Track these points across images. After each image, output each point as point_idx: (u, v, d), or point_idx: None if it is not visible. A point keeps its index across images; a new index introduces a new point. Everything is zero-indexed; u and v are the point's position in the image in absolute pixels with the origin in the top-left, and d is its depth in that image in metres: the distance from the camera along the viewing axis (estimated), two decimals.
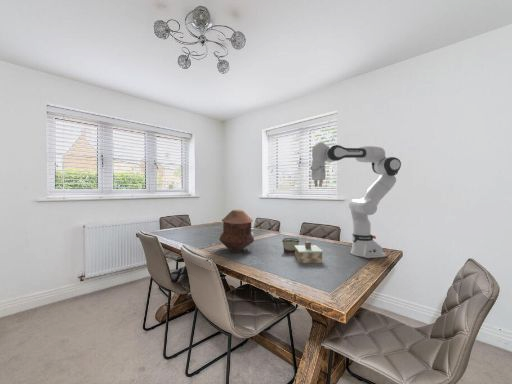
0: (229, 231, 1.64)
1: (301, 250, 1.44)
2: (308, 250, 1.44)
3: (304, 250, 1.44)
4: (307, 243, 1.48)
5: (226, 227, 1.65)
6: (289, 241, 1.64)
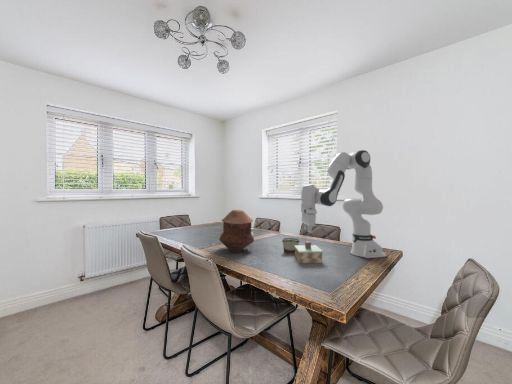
0: (229, 231, 1.64)
1: (301, 250, 1.44)
2: (308, 250, 1.44)
3: (304, 250, 1.44)
4: (307, 243, 1.48)
5: (226, 227, 1.65)
6: (289, 241, 1.64)
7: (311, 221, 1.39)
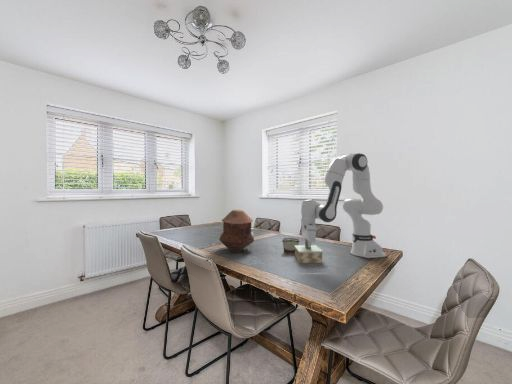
0: (229, 231, 1.64)
1: (301, 250, 1.44)
2: (308, 250, 1.44)
3: (304, 250, 1.44)
4: (307, 243, 1.48)
5: (226, 227, 1.65)
6: (289, 241, 1.64)
7: (311, 237, 1.39)
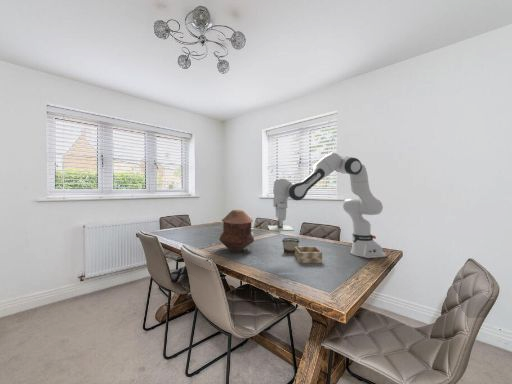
0: (229, 231, 1.64)
1: (272, 229, 1.43)
2: (279, 229, 1.43)
3: (275, 229, 1.43)
4: None
5: (226, 227, 1.65)
6: (289, 241, 1.64)
7: (281, 215, 1.38)
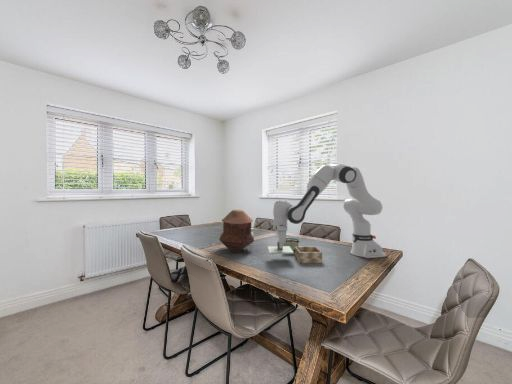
0: (229, 231, 1.64)
1: (272, 251, 1.43)
2: (279, 251, 1.43)
3: (275, 251, 1.43)
4: None
5: (226, 227, 1.65)
6: (289, 241, 1.64)
7: (281, 238, 1.39)
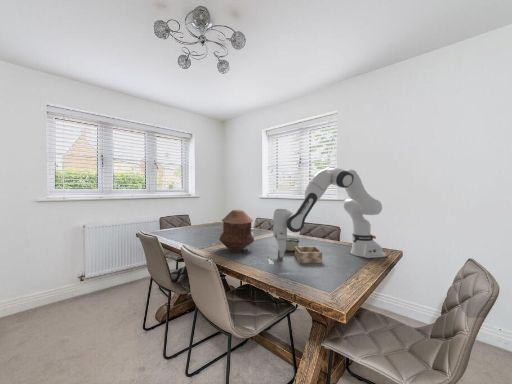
0: (229, 231, 1.64)
1: (272, 263, 1.44)
2: None
3: None
4: (279, 255, 1.48)
5: (226, 227, 1.65)
6: (289, 241, 1.64)
7: (281, 246, 1.39)
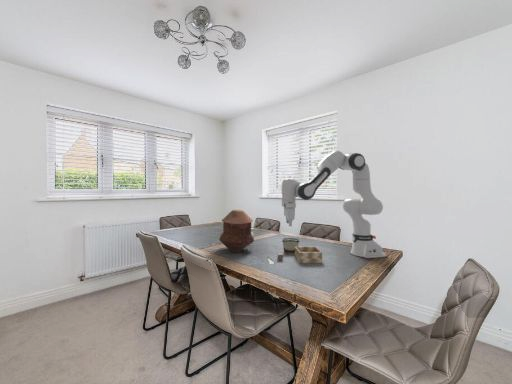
0: (229, 231, 1.64)
1: (272, 263, 1.44)
2: None
3: None
4: (279, 255, 1.48)
5: (226, 227, 1.65)
6: (289, 241, 1.64)
7: (290, 215, 1.42)
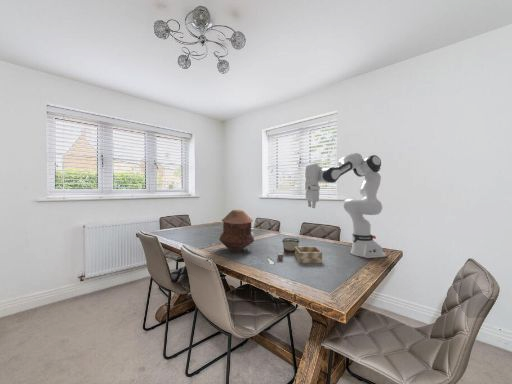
0: (229, 231, 1.64)
1: (272, 263, 1.44)
2: None
3: None
4: (279, 255, 1.48)
5: (226, 227, 1.65)
6: (289, 241, 1.64)
7: (315, 196, 1.49)
